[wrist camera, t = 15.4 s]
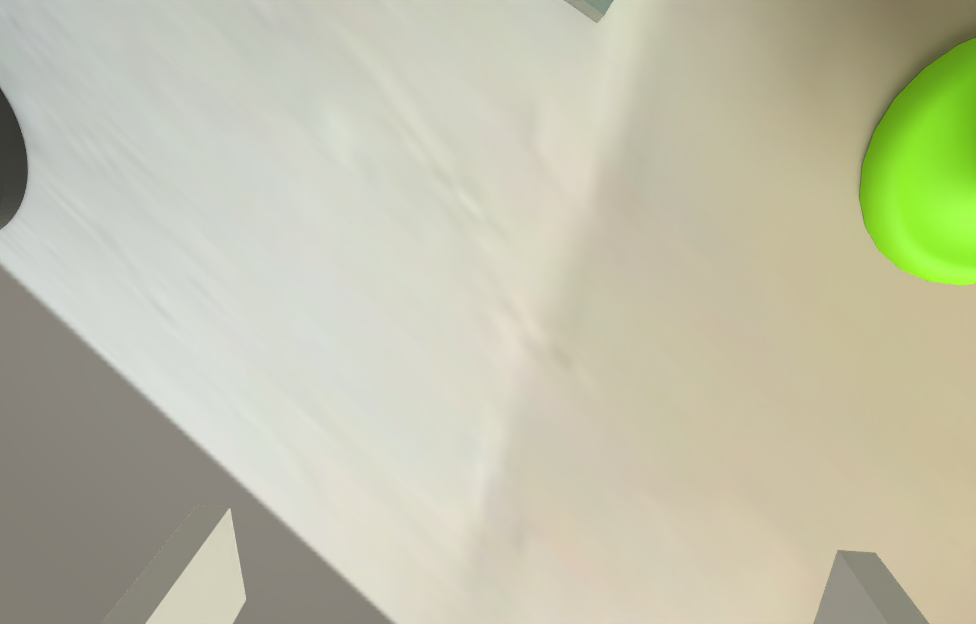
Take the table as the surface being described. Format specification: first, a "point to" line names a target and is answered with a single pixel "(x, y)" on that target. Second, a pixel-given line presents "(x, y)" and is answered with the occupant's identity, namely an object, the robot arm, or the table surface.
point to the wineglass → (927, 173)
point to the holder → (591, 7)
